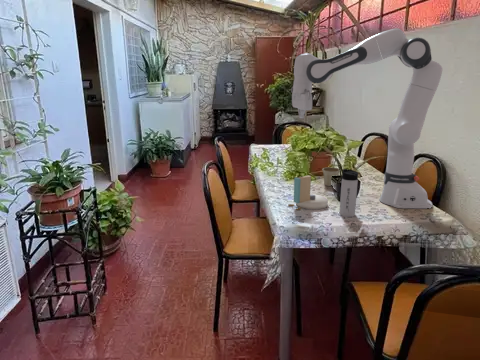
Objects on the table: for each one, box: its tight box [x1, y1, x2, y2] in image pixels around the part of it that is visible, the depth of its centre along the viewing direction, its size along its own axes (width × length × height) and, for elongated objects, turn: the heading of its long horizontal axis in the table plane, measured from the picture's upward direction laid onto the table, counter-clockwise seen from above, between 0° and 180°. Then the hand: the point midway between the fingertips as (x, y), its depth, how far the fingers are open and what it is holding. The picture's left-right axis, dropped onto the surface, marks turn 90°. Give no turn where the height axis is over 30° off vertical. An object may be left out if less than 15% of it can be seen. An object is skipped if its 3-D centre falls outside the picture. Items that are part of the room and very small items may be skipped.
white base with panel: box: [293, 175, 329, 210], centre depth 164 cm, size 17×14×14 cm
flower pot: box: [321, 166, 340, 187], centre depth 199 cm, size 9×9×9 cm
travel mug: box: [338, 168, 359, 217], centre depth 152 cm, size 6×7×20 cm
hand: (301, 118), depth 181 cm, fingers closed
